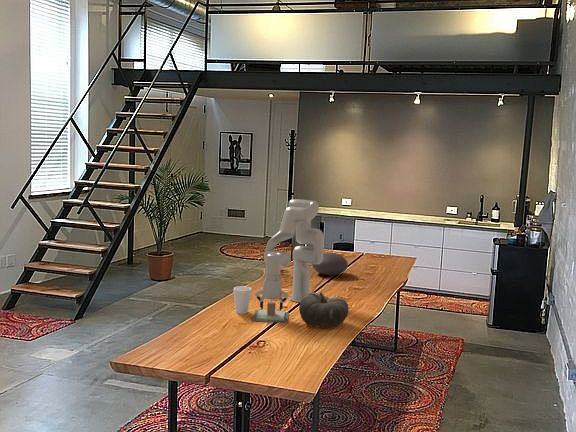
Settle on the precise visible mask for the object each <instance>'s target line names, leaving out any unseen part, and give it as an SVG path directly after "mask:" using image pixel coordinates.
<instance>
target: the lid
mask: <svg viewBox="0 0 576 432" xmlns="http://www.w3.org/2000/svg"><path fill="white" fill-rule="evenodd" d="M266 306H267V309H266V310H265V309H262V310H261V309H259V311H258V315H257V319H261V320H280V321H284V316H285V312H286V311H284V310H281V311H280V310H276V307H277V306H276V302H271V301H270V302H269V301H268V302H267V304H266Z"/></svg>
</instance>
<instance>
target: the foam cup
mask: <svg viewBox="0 0 576 432" xmlns="http://www.w3.org/2000/svg"><path fill="white" fill-rule="evenodd" d="M232 292H233V297H234V298H233V300H234V309H235V314H240V315H244V314H248V313H249V312H248V311H249V307H250V302H251V301H250V300H251V296H252V295H251V294H252V288H251V287H250V286H245V285H244V286H243V285H240V286H237V285H236V286H235V287H233V291H232Z"/></svg>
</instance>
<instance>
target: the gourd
mask: <svg viewBox="0 0 576 432" xmlns="http://www.w3.org/2000/svg"><path fill="white" fill-rule="evenodd" d="M298 307H299V308H298V311H299V314H300V318H301V319H302V321H303V322H304V323H305V324H306V325H308V326H310V327H319V328H320V329H335V328H336V327H338V326H341V325H342V324H343V323H344V322H345V320H346V319H347V317H348V315H349V305H348V302H347V301H346V300H345V299H344V298H342V297H340V296H339V297H335V296H334V297H330V298H329V297H328V296H326V295H324V294H323V292H319V293H318V292H313V291H311V292H310V293H308V294H307V295H306V296H304V297H303V298H302V300H301V302H299V306H298Z"/></svg>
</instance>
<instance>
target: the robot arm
mask: <svg viewBox="0 0 576 432" xmlns="http://www.w3.org/2000/svg"><path fill="white" fill-rule="evenodd" d="M287 206H288V207H286V209H284V213H283V216H282V219H281V223H280V227H279V230H278V232H277V233H275V234H274V235H272V236H271V238H270V239H269V240H268V241H267V244H266V245H265V249H264V253H263V260H264V263H265V277H264V279H263V283H262V289H261V290H258V291H256V292H255V297H256V298H257V300H258V301H259V308H260V310H264V300H279V311H282V309H283V308H284V306H283V305H284V303H285V301H286V300H287V299H288V298H289V300H290V301H291V302H295V303H300V302H301V300H302V298H303V297H304V296H306V295H307V294H308V293H310V286H311V285H310V282H311V269H310V266H309V264H311V265H312V264H320V263H321V262H322V260H323V253H324V233H323V231H322V230H321V229H318V228H314V227H313V228H312V226H311V223H312V220H313V219H314V218H315V217H316V216H317V215H318V213H319V210H320V209H319V208H320V205H319V203H318V202H317V201H316V200H310V199H309V200H308V199H302V198H301V199H300V198H297V199H296V198H292V199H290V200H289V201H288V205H287ZM294 236H295V241H296V242H297V244H299V245H296V246H295V247H294V248H293V251H292V255H291V254H290V253H289V252H287V251H280V250H275V248H276V246H277V245H278V244H280V243H281V242H284V241H287V240H290V239H292V238H294ZM300 244H301V245H300ZM292 259H293V274H292V275H293V277H292V278H293V279H292V295H291V296H289V293H286V292H285V291H283V285H282V282H283V281H282V279H284V278H283V277H284V276H283V275H282V274H281V267H286V266H288V265H289V264H290V263H291V261H292ZM260 294H261V296H260ZM282 295H283V296H284V298H282Z"/></svg>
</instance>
